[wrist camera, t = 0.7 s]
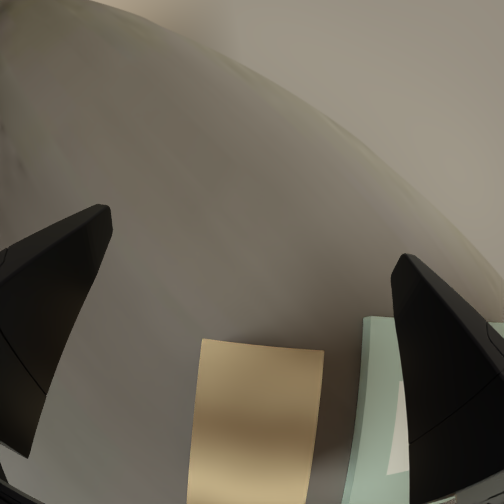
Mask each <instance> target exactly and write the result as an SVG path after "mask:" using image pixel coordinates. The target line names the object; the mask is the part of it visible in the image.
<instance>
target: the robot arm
mask: <svg viewBox="0 0 504 504" xmlns="http://www.w3.org/2000/svg"><path fill="white" fill-rule="evenodd" d="M112 232H113V227H112V218H111V210H110V207H109V206H108V205H101V204H96V205H94V206H91V207H89V208H87V209H84V210H82V211H80V212H78V213H76V214H73V215H71V216H69V217H67V218H65V219H63V220H61V221H59V222H56V223H54V224H52V225H50V226H48V227H46V228H44V229H42V230H40V231H38V232H36V233H34V234H32V235H30V236H28V237H26V238H24V239H22V240H21V241H19V242H17V243H15V244H13V245H11V246H9V247H8V248H5V249H4V250H2V251H0V444H2V445H3V446H5V447H7V448H8V449H10V450H12V451H14V452H16V453H17V454H19V455H21V456H23V457H25V458H27V459H28V457H29V454H30V451H31V447H32V443H33V439H34V436H35V432H36V429H37V425H38V422H39V419H40V415H41V412H42V409H43V406H44V403H45V400H46V395H47V393H48V390H49V387H50V385H51V382H52V379H53V376H54V373H55V371H56V368H57V365H58V363H59V360H60V357H61V355H62V352H63V350H64V347H65V345H66V342H67V340H68V338H69V335H70V333H71V330H72V328H73V326H74V323H75V321H76V319H77V316H78V314H79V312H80V310H81V308H82V305H83V303H84V301H85V299H86V297H87V294H88V292H89V290H90V288H91V286H92V284H93V282H94V280H95V278H96V275H97V273H98V270H99V268H100V265H101V262H102V260H103V257H104V254H105V252H106V249H107V247H108V244H109V241H110V239H111V236H112ZM391 288H392V299H393V311H394V322H395V328H396V334H397V340H398V347H399V353H400V360H401V368H402V376H403V384H404V393H405V403H406V414H407V427H408V444H409V446H408V448H409V504H429V503H433V502H436V501H440V500H443V499H447V498H450V497H453V496H455V504H504V338H503V337H502V336H501V335H500V334H499V333H498V332H497V331H496V330H495V329H494V328H493V327H492V326H491V325H490V324H489V323H488V322H486V320H485V319H484V318H483V317H482V316H481V315H480V314H479V313H478V312H477V311H476V310H475V309H474V308H473V307H472V306H471V305H470V304H469V303H467V302H466V301H465V300H464V299H463V298H462V297H461V296H460V295H459V294H458V293H457V292H456V291H455V290H454V289H452V288H451V287H450V286H449V285H448V284H447V283H446V282H445V281H444V280H443V279H441V278H440V277H439V276H438V275H437V274H436V273H435V272H434V271H432V270H431V269H430V268H429V267H428V266H427V265H426V264H424V263H423V262H422V261H421V260H420V259H419V258H417V257H416V256H415V255H412V254H406V253H404V254H402V255H401V256H400V258H399V260H398V262H397V264H396V266H395V268H394V270H393V272H392V274H391ZM0 504H45V503H43V502H41V501H39V500H37V499H35V498H33V497H31V496H29V495H27V494H25V493H24V492H22V491H20V490H18V489H16V488H15V487H13V486H11V485H10V484H9V483H8V481H7V479H6V476H5V474H4V471H3V469H2V466H1V463H0Z"/></svg>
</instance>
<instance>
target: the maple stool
mask: <svg viewBox="0 0 504 504" xmlns="http://www.w3.org/2000/svg"><path fill="white" fill-rule="evenodd" d="M323 361H324V350H308V349H294V348H282V347H271V346H261V345H251V344H242V343H233V342H225V341H217V340H209V339H202V345H201V353H200V362H199V371H198V380H197V389H196V399H195V409H194V419H193V429H192V440H191V452H190V464H189V477H188V490H187V504H305V501H306V495H307V490H308V484H309V478H310V471H311V465H312V458H313V451H314V444H315V436H316V429H317V421H318V412H319V403H320V394H321V384H322V373H323Z"/></svg>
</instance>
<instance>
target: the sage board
mask: <svg viewBox="0 0 504 504" xmlns="http://www.w3.org/2000/svg"><path fill="white" fill-rule="evenodd" d="M488 323H489V324H490V325H491V326H492V327H493V328H494V329H495V330H496V331H497V332H498V333H499V334H500V335H501V336H502V337H503V338H504V323H495V322H488ZM408 446H409V444H408V427H407V414H406V403H405V393H404V384H403V376H402V368H401V360H400V353H399V347H398V340H397V334H396V328H395V322H394V318H392V317H378V316H369V317H365V318H363V338H362V355H361V369H360V381H359V392H358V402H357V411H356V419H355V427H354V435H353V442H352V448H351V455H350V461H349V467H348V473H347V478H346V484H345V489H344V494H343V499H342V503H341V504H409V448H408ZM453 498H455V496H453V497H450V498H447V499H443V500H440V501H436V502H433V503H429V504H441V503H443V502H446V501H449V500H451V499H453Z"/></svg>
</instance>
